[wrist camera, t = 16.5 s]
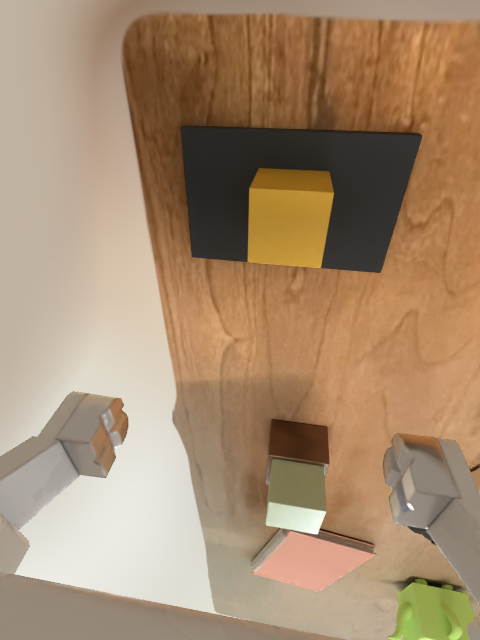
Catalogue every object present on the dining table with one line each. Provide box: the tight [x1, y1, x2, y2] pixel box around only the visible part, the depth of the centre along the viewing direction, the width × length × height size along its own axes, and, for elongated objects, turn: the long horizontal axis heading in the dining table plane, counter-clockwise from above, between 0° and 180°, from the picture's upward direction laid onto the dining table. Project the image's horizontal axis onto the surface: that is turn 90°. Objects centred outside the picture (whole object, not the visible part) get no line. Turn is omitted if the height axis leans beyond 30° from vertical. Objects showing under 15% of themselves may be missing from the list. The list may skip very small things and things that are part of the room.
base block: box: [265, 420, 329, 485], centre depth 42 cm, size 7×7×5 cm
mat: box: [181, 125, 422, 273], centre depth 25 cm, size 16×10×1 cm, turn 90°
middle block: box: [265, 458, 326, 534], centre depth 38 cm, size 6×6×5 cm
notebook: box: [250, 528, 376, 592], centre depth 67 cm, size 27×17×2 cm, turn 167°
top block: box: [248, 168, 334, 268], centre depth 23 cm, size 5×5×5 cm
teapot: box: [387, 579, 475, 640], centre depth 64 cm, size 15×13×11 cm
